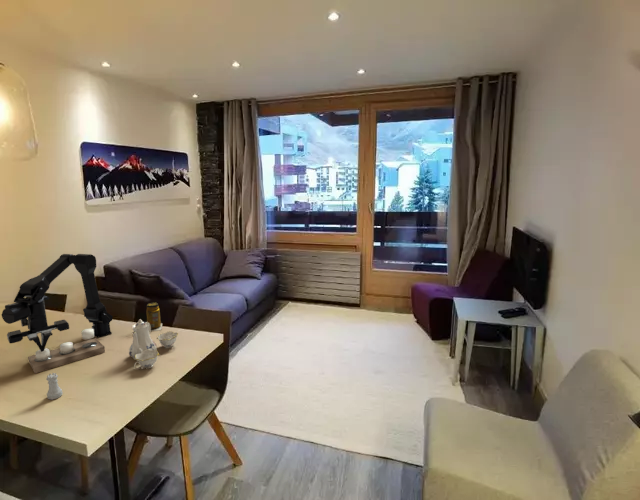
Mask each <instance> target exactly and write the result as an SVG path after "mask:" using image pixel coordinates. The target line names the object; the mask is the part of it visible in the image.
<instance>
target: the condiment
mask: <svg viewBox="0 0 640 500" xmlns="http://www.w3.org/2000/svg"><path fill="white" fill-rule="evenodd" d="M145 310H146V311H145V312H146V313H145V314H146V315H145V316H146V322H149V323H150V326H151V331H150V332H155V331H162V327H163V323H162V321H161V312H160V307H159V303H157V302H150V303H147V304H146V309H145Z"/></svg>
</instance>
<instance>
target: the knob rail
mask: <svg viewBox="0 0 640 500" xmlns="http://www.w3.org/2000/svg"><path fill="white" fill-rule="evenodd" d="M73 348H74V350H73V351H72V352H70V353H66V354H62V353H61V351H60V347H59V348H54V349H52V350H49V351H50V358H48V359H46V360H42V361H37V360H36V354H34V355H29V356H28V357H27V358H28V363H29V365H30V367H31V369H32V371H33V373H34V374H37V373H41V372H45V371H48V370H51V369H54V368H57V367H60V366H63V365H67V364H70V363H73V362H77V361H81V360H84V359H86V358H87V359H88V358H90V357H93V356H97V355H100V354H103V353H105V352H106V348H105V346H104V345H103V344H102V343H101V342H100V341H99V340H98V338H97V337H95V338H94V337H93V338H91V339H86V340H84V341H80V342H77V343H76V342H75V343H73Z"/></svg>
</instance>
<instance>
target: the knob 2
mask: <svg viewBox="0 0 640 500" xmlns="http://www.w3.org/2000/svg"><path fill="white" fill-rule="evenodd" d="M94 337H95V336H94V329H92V327H91V328H85V329H82V330H81V338H82V340H91V339H94Z"/></svg>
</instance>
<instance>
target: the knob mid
mask: <svg viewBox="0 0 640 500" xmlns="http://www.w3.org/2000/svg"><path fill="white" fill-rule="evenodd" d="M73 344H74V342H73V341H67V342H66V341H65V342H63V343H60V344H59V348H60V351H61V353H62V354H66V353H70V352H72V351H73V350H74V348H73Z"/></svg>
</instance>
